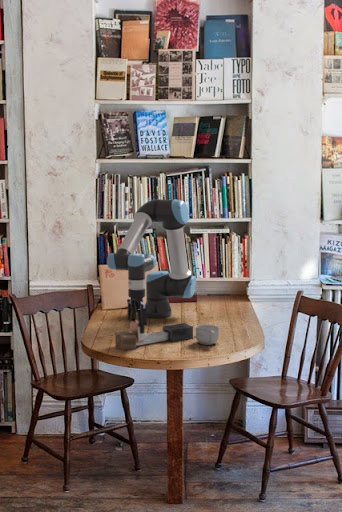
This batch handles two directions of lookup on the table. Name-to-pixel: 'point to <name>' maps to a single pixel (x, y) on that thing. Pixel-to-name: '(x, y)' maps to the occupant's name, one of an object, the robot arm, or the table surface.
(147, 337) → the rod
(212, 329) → the teacup
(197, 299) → the table surface
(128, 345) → the socket
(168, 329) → the sleeve
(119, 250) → the robot arm
